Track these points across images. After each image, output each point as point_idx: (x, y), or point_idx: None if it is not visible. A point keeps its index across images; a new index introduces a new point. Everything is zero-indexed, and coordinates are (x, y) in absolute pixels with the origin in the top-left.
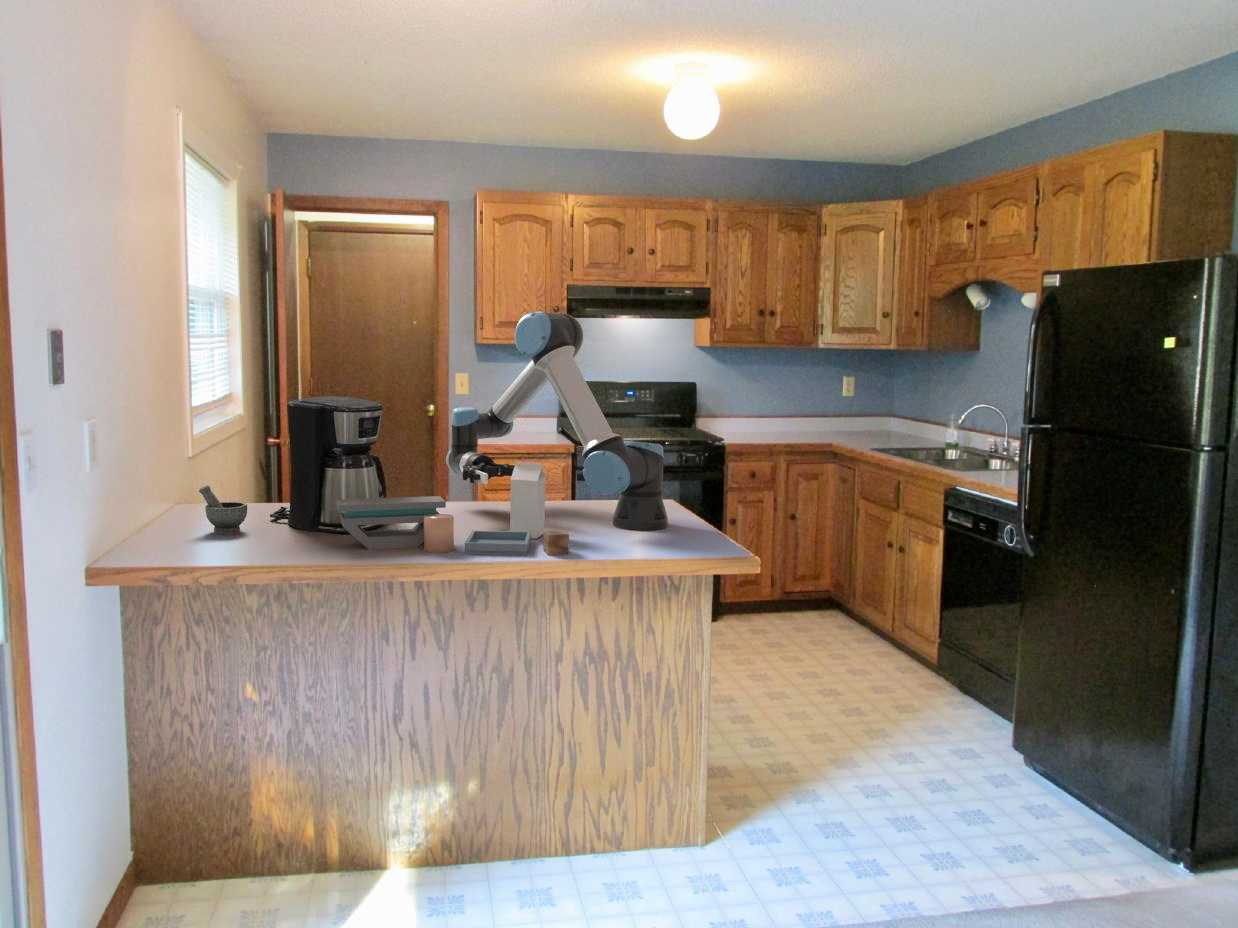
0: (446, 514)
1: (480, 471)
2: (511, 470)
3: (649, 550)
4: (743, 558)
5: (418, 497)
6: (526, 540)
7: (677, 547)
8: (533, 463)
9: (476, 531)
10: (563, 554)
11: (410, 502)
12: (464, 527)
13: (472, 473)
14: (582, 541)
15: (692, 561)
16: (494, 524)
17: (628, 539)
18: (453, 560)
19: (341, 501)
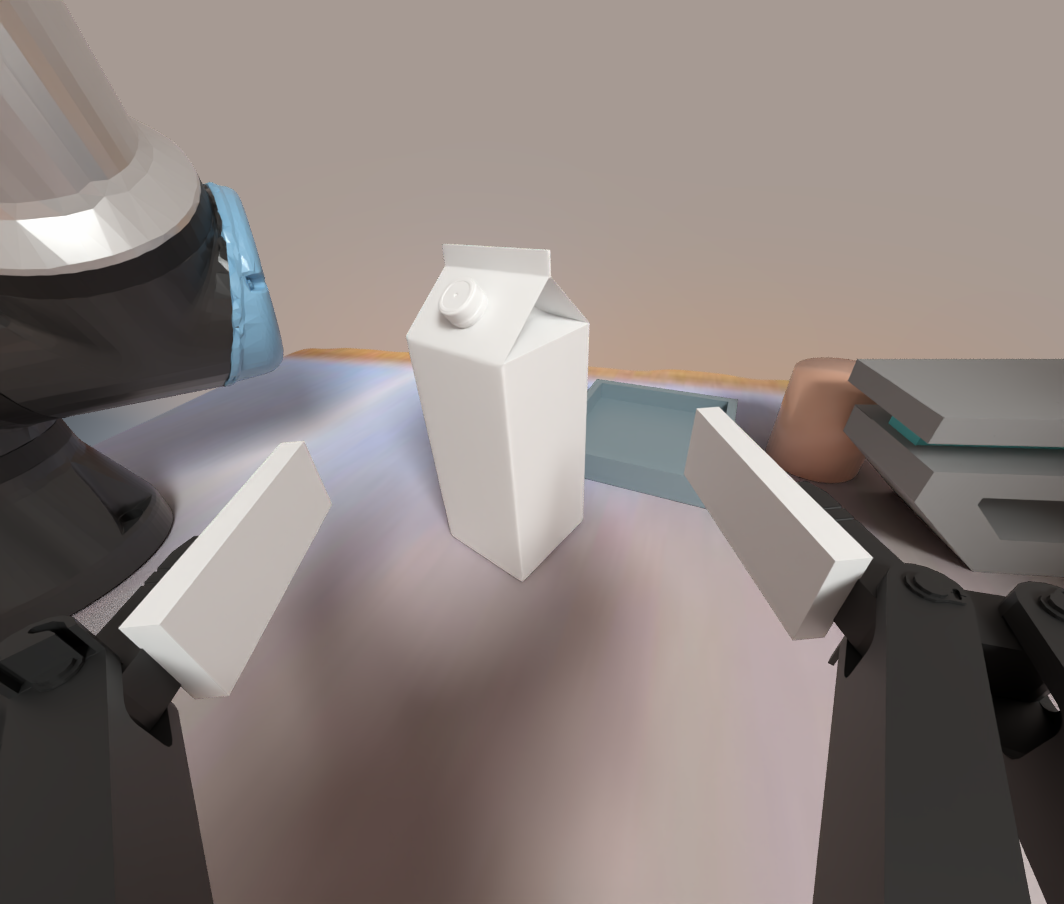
0: (828, 386)
1: (781, 496)
2: (149, 865)
3: (365, 389)
4: (298, 352)
5: (1051, 410)
6: (588, 394)
7: (302, 393)
8: (472, 248)
9: None
10: None
11: (1006, 360)
12: (782, 793)
13: (884, 547)
14: (418, 449)
15: (372, 352)
16: (570, 832)
17: (308, 444)
18: (752, 397)
19: None
